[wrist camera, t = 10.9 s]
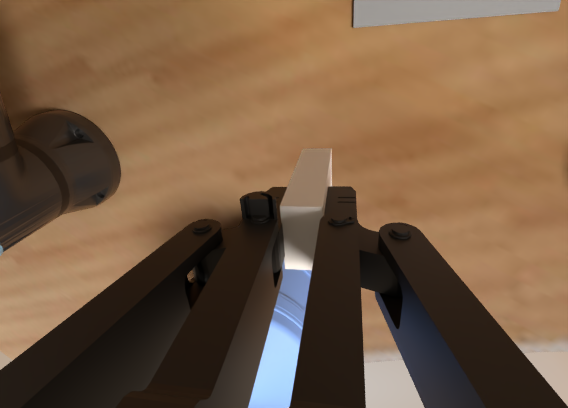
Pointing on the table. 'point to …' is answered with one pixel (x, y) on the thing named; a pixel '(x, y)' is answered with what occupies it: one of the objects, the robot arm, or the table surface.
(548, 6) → the rubber mat
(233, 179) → the table surface
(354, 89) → the table surface
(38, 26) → the table surface
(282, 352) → the water jug
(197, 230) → the robot arm
